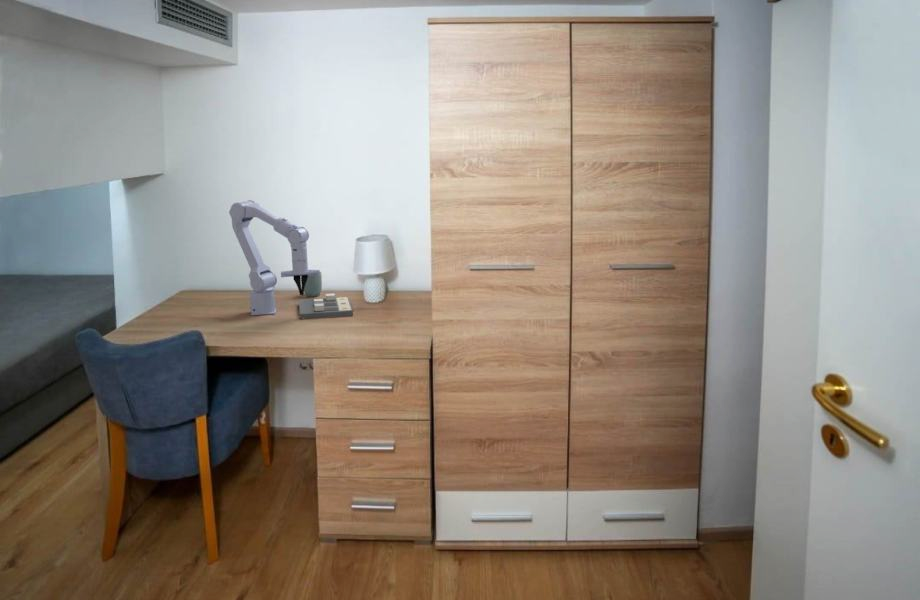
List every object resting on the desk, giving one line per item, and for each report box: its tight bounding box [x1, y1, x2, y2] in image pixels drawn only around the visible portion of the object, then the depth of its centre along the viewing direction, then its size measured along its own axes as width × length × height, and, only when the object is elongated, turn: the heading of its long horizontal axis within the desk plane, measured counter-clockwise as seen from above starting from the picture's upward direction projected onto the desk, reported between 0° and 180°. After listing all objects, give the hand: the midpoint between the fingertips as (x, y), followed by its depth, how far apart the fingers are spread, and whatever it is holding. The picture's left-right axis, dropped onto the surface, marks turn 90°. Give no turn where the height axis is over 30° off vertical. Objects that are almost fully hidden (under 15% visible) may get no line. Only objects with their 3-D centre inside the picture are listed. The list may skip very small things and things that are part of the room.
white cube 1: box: [314, 303, 324, 311], centre depth 312 cm, size 4×4×2 cm
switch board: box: [298, 296, 354, 320], centre depth 321 cm, size 20×24×2 cm
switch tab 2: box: [325, 293, 336, 301], centre depth 328 cm, size 4×4×2 cm
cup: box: [304, 271, 323, 298], centre depth 344 cm, size 8×8×10 cm
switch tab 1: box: [313, 298, 323, 304], centre depth 320 cm, size 4×4×2 cm
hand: (301, 294), depth 310 cm, fingers closed
